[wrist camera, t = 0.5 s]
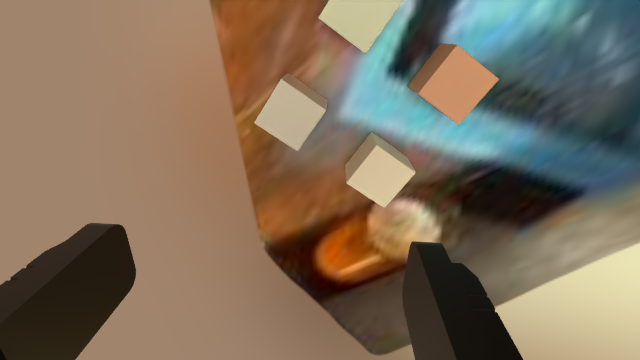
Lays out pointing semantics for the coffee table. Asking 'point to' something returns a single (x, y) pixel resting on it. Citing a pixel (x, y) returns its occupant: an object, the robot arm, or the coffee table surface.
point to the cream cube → (378, 170)
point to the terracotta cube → (452, 81)
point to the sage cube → (359, 19)
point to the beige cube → (292, 112)
